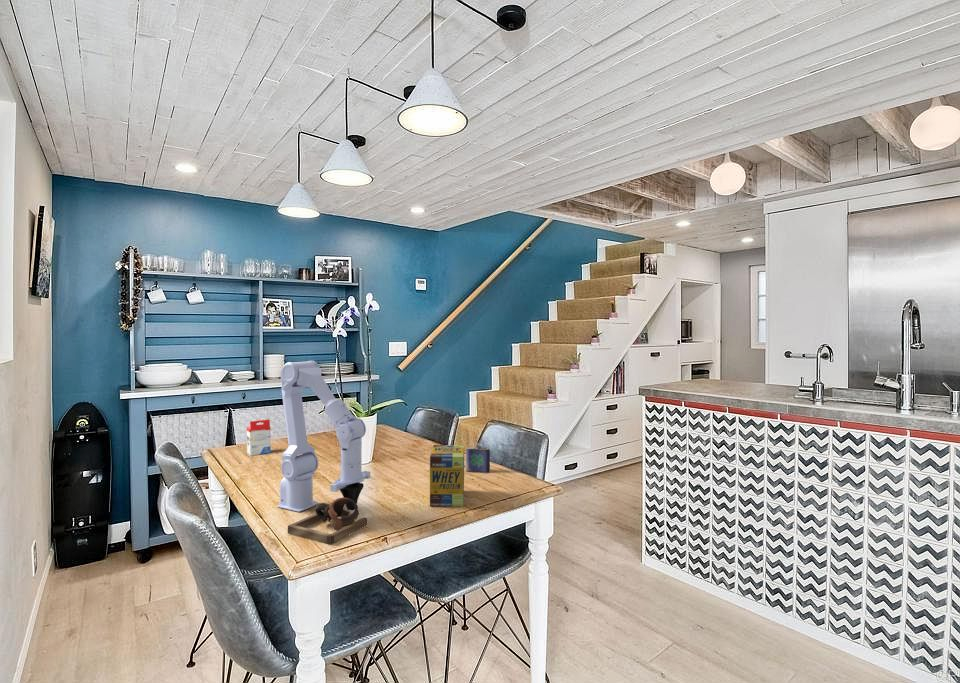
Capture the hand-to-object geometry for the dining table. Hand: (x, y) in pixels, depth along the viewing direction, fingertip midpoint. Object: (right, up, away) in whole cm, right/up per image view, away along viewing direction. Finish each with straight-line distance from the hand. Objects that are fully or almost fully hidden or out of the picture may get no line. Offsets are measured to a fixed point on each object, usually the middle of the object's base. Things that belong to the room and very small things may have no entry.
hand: (351, 509), depth 141 cm
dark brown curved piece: (-3, -3, -5) cm, 6 cm away
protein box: (+26, -2, +17) cm, 32 cm away
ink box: (-59, -1, +72) cm, 93 cm away
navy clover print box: (+36, -2, +47) cm, 59 cm away
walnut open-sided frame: (-4, -3, -8) cm, 9 cm away
